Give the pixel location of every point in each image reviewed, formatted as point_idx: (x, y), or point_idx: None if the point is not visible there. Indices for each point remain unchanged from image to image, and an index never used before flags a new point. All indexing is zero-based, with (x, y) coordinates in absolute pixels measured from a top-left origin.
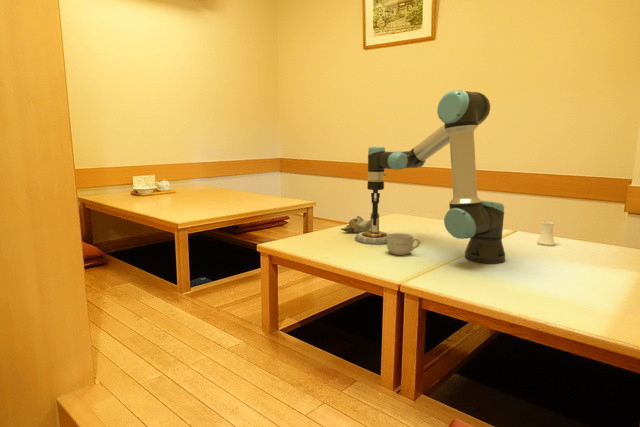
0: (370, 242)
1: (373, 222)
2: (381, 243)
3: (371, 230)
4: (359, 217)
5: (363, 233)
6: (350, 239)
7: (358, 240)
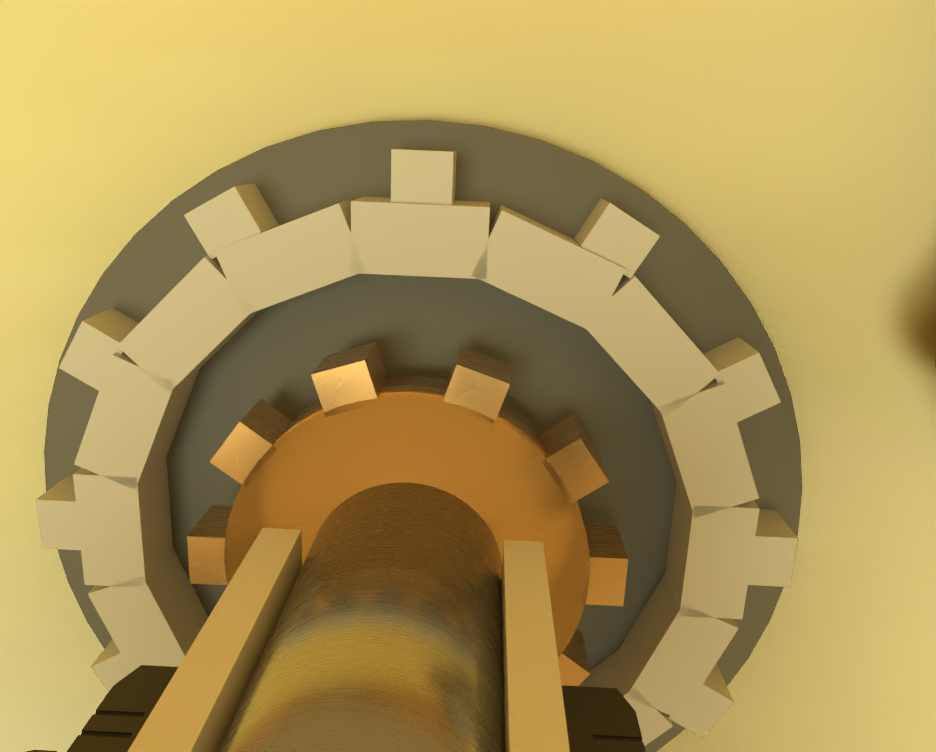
0: (62, 434)
1: (82, 733)
2: (91, 610)
3: (324, 538)
4: None
5: (571, 320)
6: (409, 15)
7: (176, 200)
